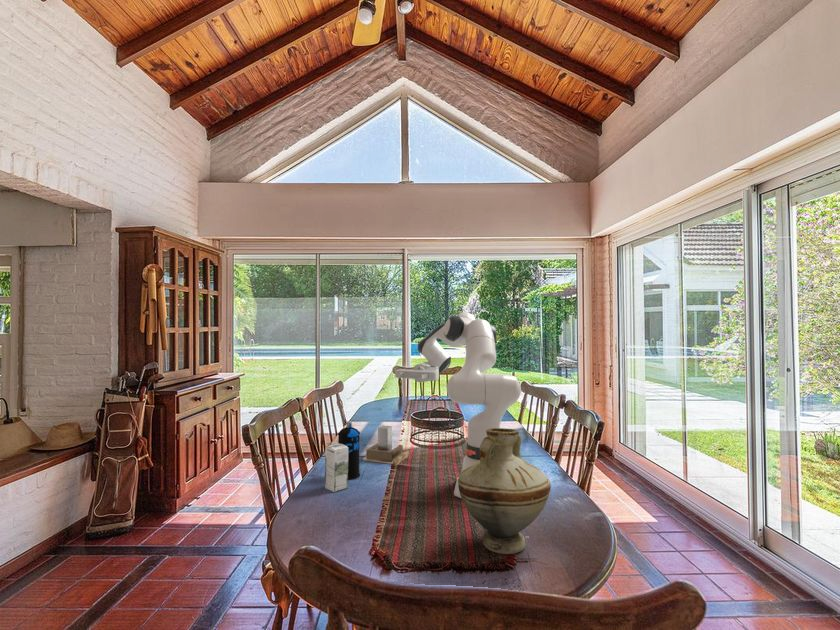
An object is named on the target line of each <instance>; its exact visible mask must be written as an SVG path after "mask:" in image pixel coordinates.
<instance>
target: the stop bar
mask: <svg viewBox="0 0 840 630" xmlns="http://www.w3.org/2000/svg"><path fill="white" fill-rule="evenodd" d="M377 443H378V450H383V451H391V450H393V426H392V425H383V424H382V425H380V426H379V427H378V428H377Z"/></svg>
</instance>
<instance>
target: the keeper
mask: <svg viewBox="0 0 840 630" xmlns="http://www.w3.org/2000/svg"><path fill="white" fill-rule="evenodd" d="M403 449H404V446H403V444H402V445H401V444H399V445H397V446H396V447H394V448H392V450H391V451H383V450H378V442H376V443H375V444H373V445H372V446H370V447H368V448H367V449H366V454H365V455H366V456H364V457H363V458H362V459H361V461H365V462H373V463H379V464H381V463H382V464H388V465H389V464H390V465H393V461H394V460H395V459H396V458H398V457H399V456H401V455H402V454H403V453H405V452H404V450H403Z"/></svg>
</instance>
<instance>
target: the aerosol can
mask: <svg viewBox="0 0 840 630" xmlns="http://www.w3.org/2000/svg"><path fill="white" fill-rule="evenodd" d="M352 424H353V422H352V421H351V420H348V421H346V427H343V428H342V429H340V430H339V432H337V435H338V436H337V437H338V438H337V439H338V441H337V444H343V445H345V446H347V447H348V481H349V480H350V481H351V480H356V479H358V478H359V477H360V476H361V474H360V435H361V431H359V430H358V429H357V428H355V427H353V425H352Z"/></svg>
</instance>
